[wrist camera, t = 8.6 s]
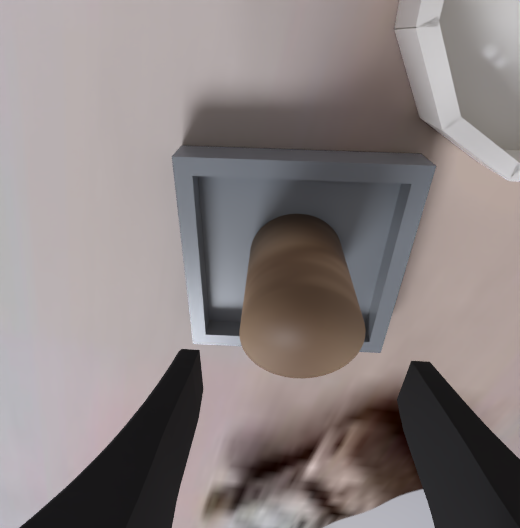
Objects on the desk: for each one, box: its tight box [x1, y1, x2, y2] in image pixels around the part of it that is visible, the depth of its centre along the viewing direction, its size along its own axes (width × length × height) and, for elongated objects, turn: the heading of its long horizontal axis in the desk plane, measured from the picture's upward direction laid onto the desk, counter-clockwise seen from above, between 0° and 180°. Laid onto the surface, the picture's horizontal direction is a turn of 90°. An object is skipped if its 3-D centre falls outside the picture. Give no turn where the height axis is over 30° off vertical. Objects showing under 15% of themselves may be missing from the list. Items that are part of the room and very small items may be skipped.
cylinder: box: [239, 214, 365, 378], centre depth 16 cm, size 5×5×6 cm
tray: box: [172, 146, 436, 353], centre depth 18 cm, size 11×11×2 cm
